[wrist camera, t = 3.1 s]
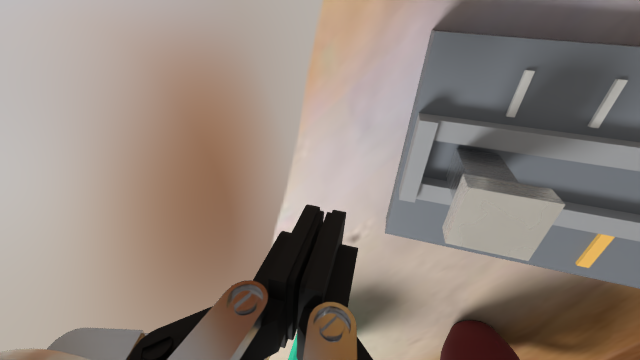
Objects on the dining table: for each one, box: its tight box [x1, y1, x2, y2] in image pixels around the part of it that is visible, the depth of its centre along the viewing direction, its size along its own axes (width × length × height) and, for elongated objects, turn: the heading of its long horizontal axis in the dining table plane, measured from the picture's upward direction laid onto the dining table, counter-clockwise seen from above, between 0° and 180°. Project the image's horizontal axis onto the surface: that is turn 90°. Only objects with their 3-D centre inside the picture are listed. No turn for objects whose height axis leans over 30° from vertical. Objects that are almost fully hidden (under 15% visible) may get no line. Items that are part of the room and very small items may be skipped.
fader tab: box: [442, 148, 565, 261], centre depth 14 cm, size 3×4×6 cm
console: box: [385, 30, 640, 289], centre depth 16 cm, size 14×18×4 cm
